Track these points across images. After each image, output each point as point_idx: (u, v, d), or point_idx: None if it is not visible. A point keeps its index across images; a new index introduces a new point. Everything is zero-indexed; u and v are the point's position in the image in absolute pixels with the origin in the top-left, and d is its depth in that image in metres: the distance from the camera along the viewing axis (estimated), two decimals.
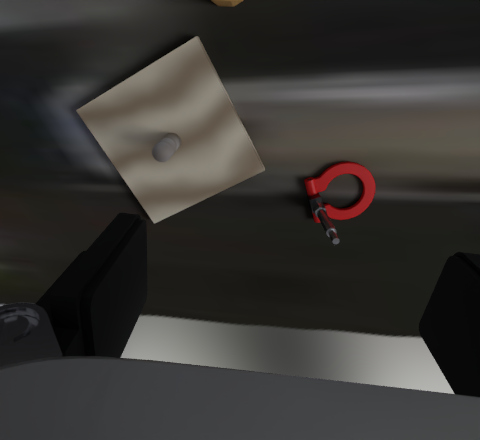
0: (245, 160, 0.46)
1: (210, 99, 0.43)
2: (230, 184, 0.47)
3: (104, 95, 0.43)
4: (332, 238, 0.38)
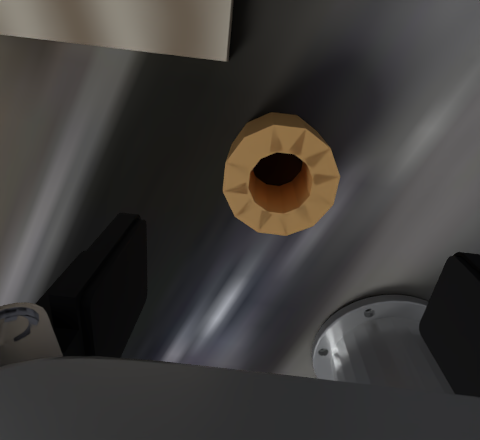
0: None
1: (112, 8, 0.20)
2: None
3: None
4: None
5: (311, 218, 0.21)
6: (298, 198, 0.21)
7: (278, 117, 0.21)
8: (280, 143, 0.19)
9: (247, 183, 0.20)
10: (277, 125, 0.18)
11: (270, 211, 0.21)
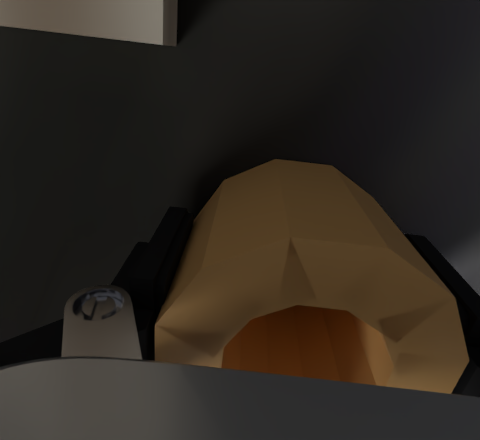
0: None
1: None
2: None
3: None
4: None
5: None
6: (342, 373, 0.09)
7: (295, 183, 0.09)
8: (309, 284, 0.06)
9: None
10: (301, 237, 0.06)
11: None
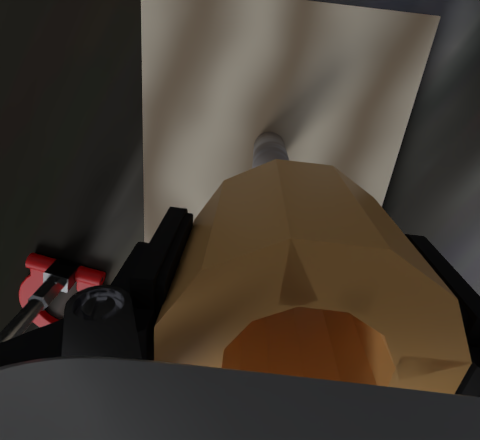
0: None
1: None
2: (147, 185, 0.26)
3: (412, 93, 0.22)
4: None
5: None
6: (343, 375, 0.09)
7: (296, 183, 0.09)
8: (310, 286, 0.06)
9: None
10: (302, 238, 0.06)
11: None
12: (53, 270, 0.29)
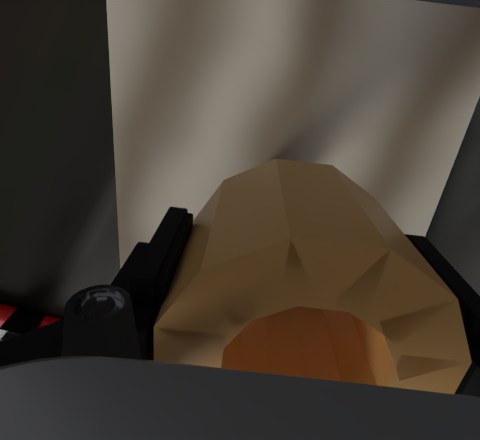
0: None
1: None
2: (123, 226, 0.21)
3: (467, 114, 0.17)
4: None
5: None
6: (343, 375, 0.09)
7: (295, 183, 0.09)
8: (309, 285, 0.06)
9: None
10: (302, 238, 0.06)
11: None
12: (11, 325, 0.24)
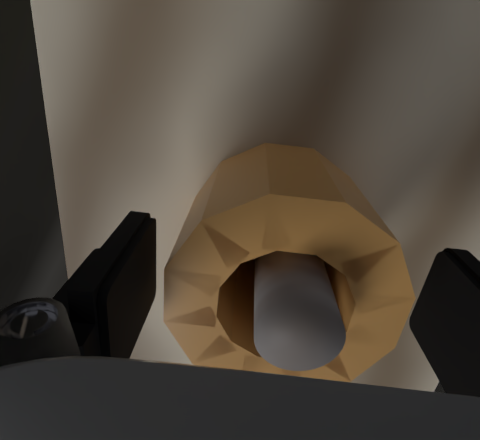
0: None
1: None
2: None
3: None
4: None
5: (347, 369, 0.10)
6: None
7: (279, 160, 0.10)
8: (285, 233, 0.08)
9: (214, 308, 0.09)
10: (278, 194, 0.08)
11: None
12: None
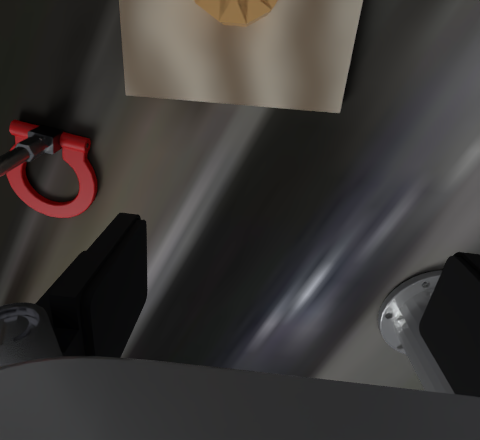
0: (154, 76, 0.28)
1: (263, 80, 0.28)
2: (124, 25, 0.26)
3: None
4: None
5: (269, 0, 0.21)
6: None
7: None
8: None
9: None
10: None
11: None
12: (37, 131, 0.30)
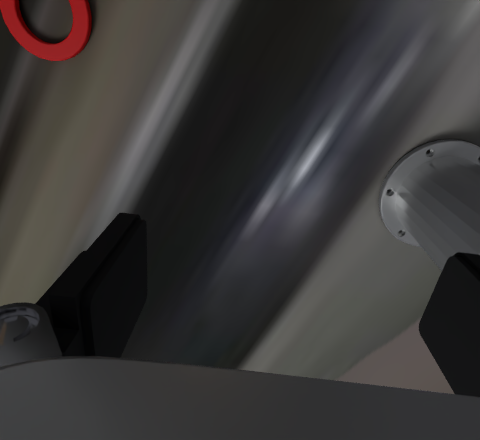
0: None
1: None
2: None
3: None
4: None
5: None
6: None
7: None
8: None
9: None
10: None
11: None
12: None
